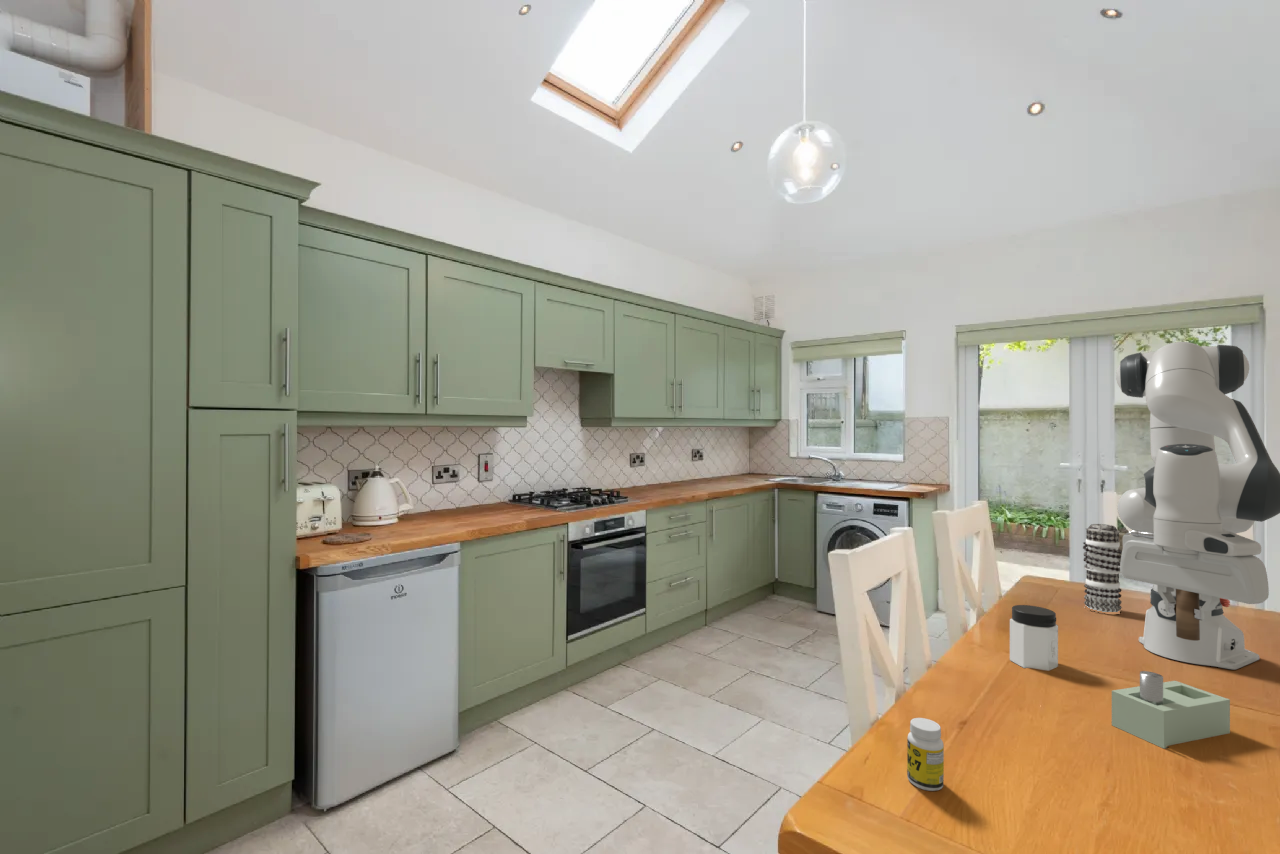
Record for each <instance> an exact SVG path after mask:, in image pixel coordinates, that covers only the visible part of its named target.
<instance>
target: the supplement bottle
mask: <svg viewBox="0 0 1280 854" xmlns="http://www.w3.org/2000/svg"><path fill="white" fill-rule="evenodd" d="M909 730H910V731H909V732H908V734H907V753H906V755H907V756H906V757H907V758H906V759H907V761H906V763H907V765H906V766H907V768H906V769H907V770H906V773H907V779H908V781H909V782H910V783H911V784H912V785H913V786H915V787H917V788H918V789H921V790H924V791H929V792H936V791H939V790H942V788H943V787H944V775H945V773H944V766H945V764H944V761H945V760H944V757H945V756H944V752H945V751H944V749H945V748H944V741H943V740H942V738H941V737H942V729H941V726H940V724H939V723H937V722H936V721H934V720H932V719H929V718H924V717H915V718H912V719H911V720H910V725H909Z"/></svg>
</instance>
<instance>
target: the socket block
mask: <svg viewBox="0 0 1280 854" xmlns="http://www.w3.org/2000/svg"><path fill="white" fill-rule="evenodd" d="M1111 726H1113V727H1115V728H1117V729H1119V730H1121V731H1124V732H1126V733H1128V734H1130V735H1133V736H1135V737H1137V738H1139V739H1141V740H1144V741H1146V742H1148V743H1151V744H1153V745H1155V746H1157V747H1160V748H1161V749H1170V747H1169V746H1173V745H1177V744H1182V743H1188V742H1191V741H1192V742H1193V741H1198V740H1202V739H1203V740H1204V739H1207V738H1212V737H1218V736H1221V735H1227V734H1231V699H1230V698H1227V697H1224V696H1220V695H1217V694H1215V693H1212V692H1210V691H1206V690H1204V689H1201V688H1197V687H1195V686H1192V685H1188V684H1187V683H1184V682H1181V681H1177V680H1171V681H1170V680H1169V681H1163V705H1158V706H1157V705H1154V704H1152V703H1149V702H1147V701H1144V700H1141V699H1140V685H1138V686H1133V687H1127V688H1121V689H1113V690H1111Z"/></svg>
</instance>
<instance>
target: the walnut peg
mask: <svg viewBox="0 0 1280 854" xmlns="http://www.w3.org/2000/svg"><path fill="white" fill-rule="evenodd" d="M1194 609H1199V593H1194V592H1189V591H1184V590H1180V589H1176V636H1177V637H1179V638H1182V639H1187V640H1194V641H1198V640H1200V620H1198V619H1195V617H1194V615H1195V613H1194Z"/></svg>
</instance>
